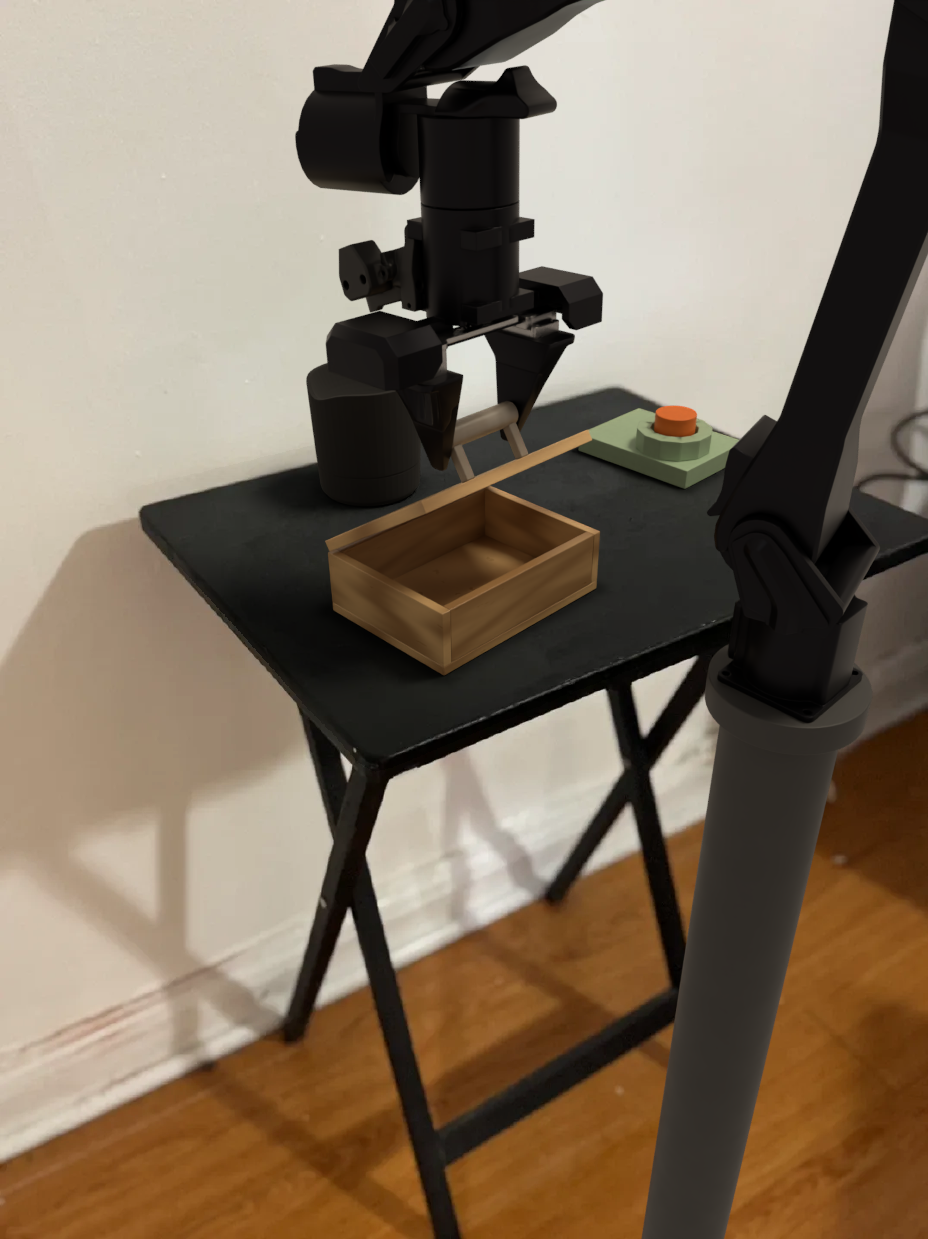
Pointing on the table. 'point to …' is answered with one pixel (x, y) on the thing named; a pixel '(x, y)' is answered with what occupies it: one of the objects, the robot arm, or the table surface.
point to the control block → (659, 449)
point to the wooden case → (464, 576)
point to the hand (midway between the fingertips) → (474, 454)
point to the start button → (675, 421)
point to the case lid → (469, 468)
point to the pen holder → (362, 440)
